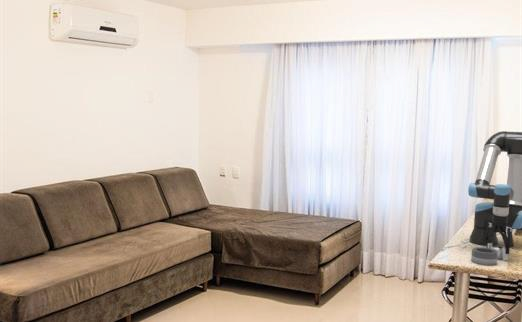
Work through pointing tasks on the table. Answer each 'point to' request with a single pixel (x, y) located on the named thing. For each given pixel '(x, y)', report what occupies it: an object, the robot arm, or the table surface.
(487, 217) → the robot arm
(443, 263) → the table surface
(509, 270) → the table surface
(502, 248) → the cap
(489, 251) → the grey short cylinder
